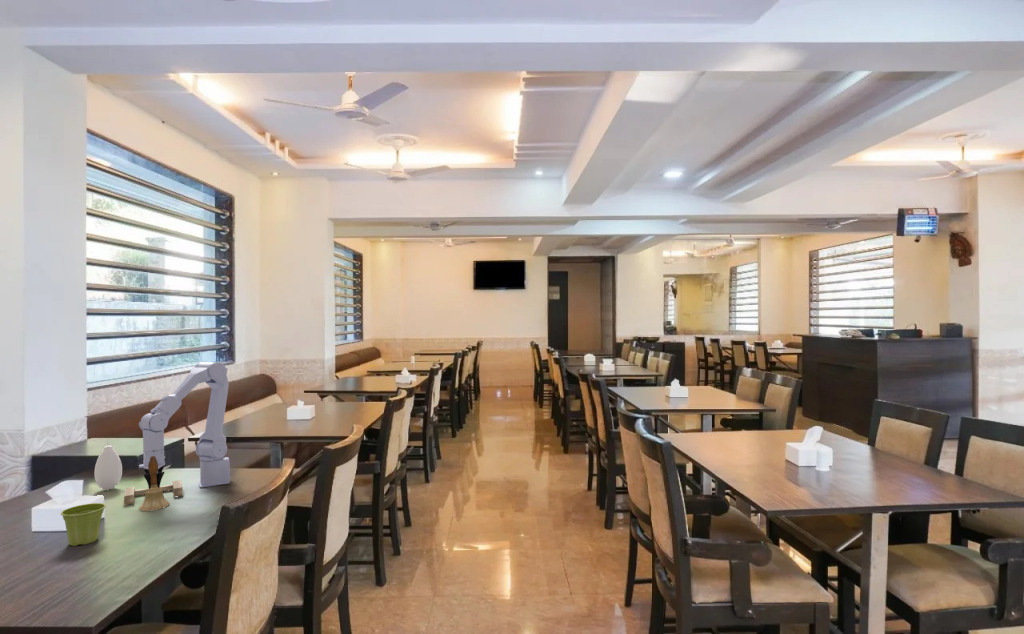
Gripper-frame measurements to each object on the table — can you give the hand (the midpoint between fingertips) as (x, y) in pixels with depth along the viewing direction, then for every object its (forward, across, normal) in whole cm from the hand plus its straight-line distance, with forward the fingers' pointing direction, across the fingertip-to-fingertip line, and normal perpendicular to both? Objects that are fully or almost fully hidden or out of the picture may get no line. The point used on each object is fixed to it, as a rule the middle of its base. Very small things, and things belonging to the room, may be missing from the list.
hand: (154, 491), depth 180 cm
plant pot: (+3, +32, -16) cm, 36 cm away
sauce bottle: (+3, -25, -13) cm, 29 cm away
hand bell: (+3, +8, 0) cm, 9 cm away
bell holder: (+3, -4, 0) cm, 5 cm away
